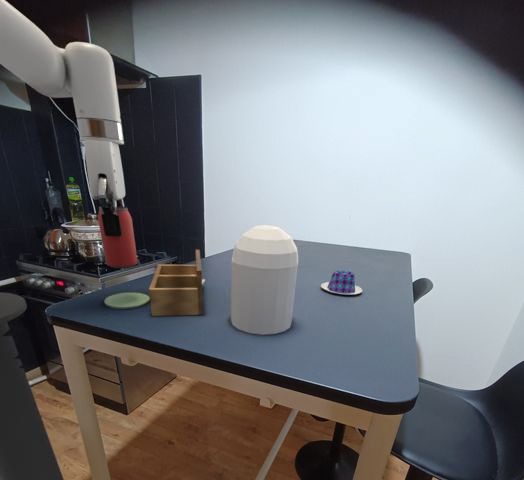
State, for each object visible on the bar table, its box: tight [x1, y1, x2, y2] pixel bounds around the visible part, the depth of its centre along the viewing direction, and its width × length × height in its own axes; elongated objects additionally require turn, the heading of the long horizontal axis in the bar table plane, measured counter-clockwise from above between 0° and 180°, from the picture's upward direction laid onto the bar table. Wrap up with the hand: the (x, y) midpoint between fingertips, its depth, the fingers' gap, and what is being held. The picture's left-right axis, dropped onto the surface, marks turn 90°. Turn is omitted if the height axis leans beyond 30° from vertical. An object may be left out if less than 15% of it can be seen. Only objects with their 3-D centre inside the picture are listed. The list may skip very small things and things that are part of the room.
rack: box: [148, 249, 204, 317], centre depth 77 cm, size 11×21×10 cm, turn 11°
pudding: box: [320, 269, 364, 296], centre depth 92 cm, size 12×12×5 cm
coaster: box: [104, 292, 150, 310], centre depth 76 cm, size 10×10×1 cm
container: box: [230, 224, 299, 336], centre depth 65 cm, size 14×13×20 cm
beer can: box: [97, 206, 138, 269], centre depth 69 cm, size 7×7×12 cm
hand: (117, 232), depth 68 cm, fingers closed on beer can, 6 cm apart
